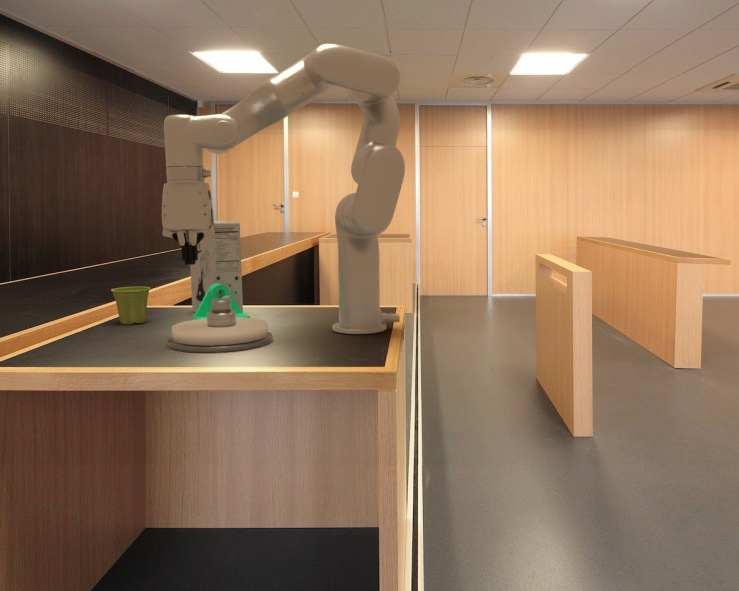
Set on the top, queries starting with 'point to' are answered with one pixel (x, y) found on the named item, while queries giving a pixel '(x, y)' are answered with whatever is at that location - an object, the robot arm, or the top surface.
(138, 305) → the plant pot
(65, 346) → the top surface
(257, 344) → the turntable base
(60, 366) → the top surface
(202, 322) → the turntable
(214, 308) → the cover
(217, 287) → the camera mount
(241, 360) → the top surface
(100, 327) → the top surface
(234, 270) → the cereal box
